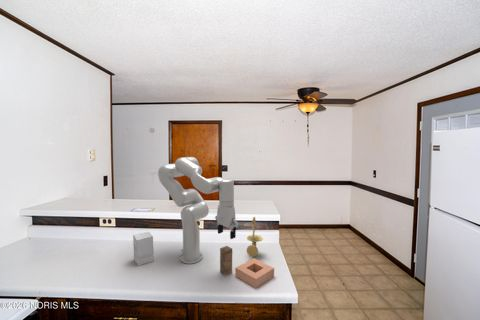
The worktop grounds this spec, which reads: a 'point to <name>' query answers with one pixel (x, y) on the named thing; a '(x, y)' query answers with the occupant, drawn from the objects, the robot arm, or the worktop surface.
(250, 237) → the wall sconce
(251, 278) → the well block
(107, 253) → the worktop surface
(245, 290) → the worktop surface
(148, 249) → the supplement box
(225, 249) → the walnut post
